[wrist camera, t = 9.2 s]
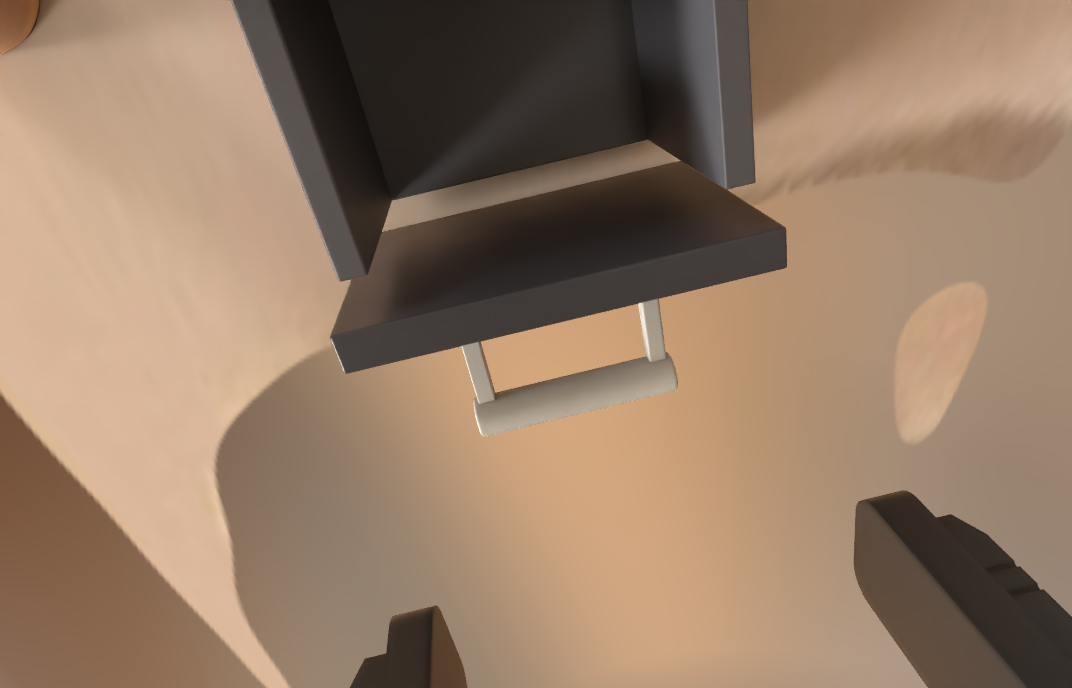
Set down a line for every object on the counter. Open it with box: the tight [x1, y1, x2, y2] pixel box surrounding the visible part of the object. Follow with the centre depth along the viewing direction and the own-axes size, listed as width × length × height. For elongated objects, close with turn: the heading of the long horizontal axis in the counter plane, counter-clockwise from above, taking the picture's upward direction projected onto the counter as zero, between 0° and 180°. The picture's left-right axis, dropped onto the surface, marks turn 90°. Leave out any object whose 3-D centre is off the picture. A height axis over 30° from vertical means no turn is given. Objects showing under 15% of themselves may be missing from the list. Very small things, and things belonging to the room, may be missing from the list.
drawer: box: [231, 0, 787, 437], centre depth 19 cm, size 20×12×9 cm, turn 12°
